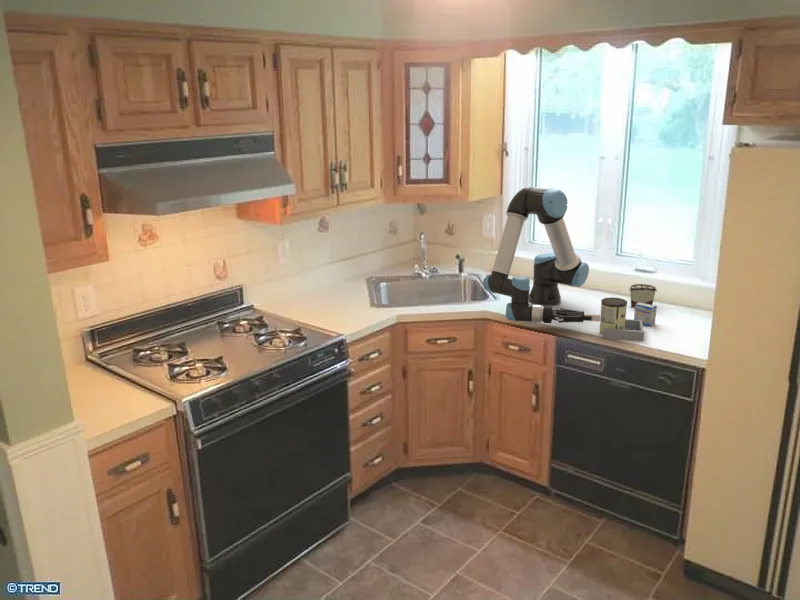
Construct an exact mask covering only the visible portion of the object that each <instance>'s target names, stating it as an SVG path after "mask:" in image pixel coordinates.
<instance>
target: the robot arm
mask: <svg viewBox="0 0 800 600" xmlns="http://www.w3.org/2000/svg"><path fill="white" fill-rule="evenodd" d="M567 198H568V197H567V196H566V194H565V193H564V191H562V190H561V189H557V188H556V189H555V188H550V187H549V188H548V187H547V188H546V187H540V186H539V187H538V186H527V187H524V188H522V189H520V190H518V192H517V193H515V195H514V196H513V197H512V198H511V200H510V202H509V204H508V207H507V210H506V212H505V215H506V216H507V218H506V221H505V225H504V229H503V232H502V236H501V239H500V242H499V246H498V249H497V254H496V256H495V260H494V263H493V266H492V270H491V274H486V275H485V277H484V279H483V281H482V286H483V288H484V290H485V291H487V292H489V293H493V294H498V295H503V296H505V297H510V298H511V301H510V302H508V303H507V304H506V307H505V317H506V320H508V321H514V322H526V323H527V322H528V323H534V324H537V323H541V322H542V323H543V324H552V322H553V320H554V321H557V322H558V323H584V322H585V321H586V322H599V323H600V318H601V313H600V314H598V313H586V312H585V311H584V310H581V311H580V310H574V309H566V308H562V307H561V308H560V309H559V308H558V309H554V308H553V307H554V305H558V304H560V303H561V300H562V299H561V298H562V297H561V296H562V295H561V293H560V292H561V291H560V289H559V284H560V285H563V286H564V285H565V286H568V287H572V288H573V287H574V288H575V287H576V288H580V287H581V286H583V285H584V284H585V283H586V281H587V279H588V276H589V272H590V267H589V264H588V262H587V263H586V262H583V261H582V259H581V257H580V255H579V254H577V253H576V252H575V249H574V247H573V246H574V245H573V243H572V240H571V238H570V235H569V232H568V229H567V225H566V223H565V220H564V218H565V217H564V216H565V214H566V213H567V211H568V199H567ZM529 215H536V216H537V219H538V222H539V223H540V224H542V225H543V226H544V229H545V231H546V234H547V237H548V239H549V242H550V245H551V248H552V250H553V252H549V253H541V254H537V255H535V257H534V261H533V277H532V278H533V282H532V287H531V286H530V285H531V284H530V280H531V279H530V278H529V277H527V276H525V275H515V276H513V277H512V278H509V275H510V272H511V269H512V264H513V261H514V258H515V255H516V251H517V247H518V244H519V241H520V237H521V233H522V230H523V226H524V223H525V221H527V220H528V218H529ZM530 303H531V304H530Z"/></svg>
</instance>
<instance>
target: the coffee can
mask: <svg viewBox="0 0 800 600" xmlns="http://www.w3.org/2000/svg"><path fill="white" fill-rule="evenodd" d="M600 303H601V305H600V306H601V307H600V322H599V333H600V334H601V335H602V333H603V328H606V329H620V330H626V329H625V320H626V319H627V318H626V317H627V307H628V306H627V305H628V300H626V299H624V298H621V297H604V298H602V299H601V302H600Z"/></svg>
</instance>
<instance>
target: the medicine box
mask: <svg viewBox="0 0 800 600" xmlns="http://www.w3.org/2000/svg"><path fill="white" fill-rule="evenodd" d="M656 316H657V305H654V304H652V305H650V304H646V303H641V302H639V303H637V304H635V308H634V316H633V320H642V324H643V326H646V327H652V326H654V325H655V324H656Z"/></svg>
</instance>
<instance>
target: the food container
mask: <svg viewBox="0 0 800 600" xmlns="http://www.w3.org/2000/svg"><path fill="white" fill-rule="evenodd" d="M657 290H658V289H657V288H656V286H654V285H652V284H648V283H647V284H645V283H635V284H631V285H630V286H629V290H628V292H630V308H634V309H635V304H637V303H639V302H641V303H646V304H650V305H654V300H655V299H654V298H655V295H656V293H657Z"/></svg>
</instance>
